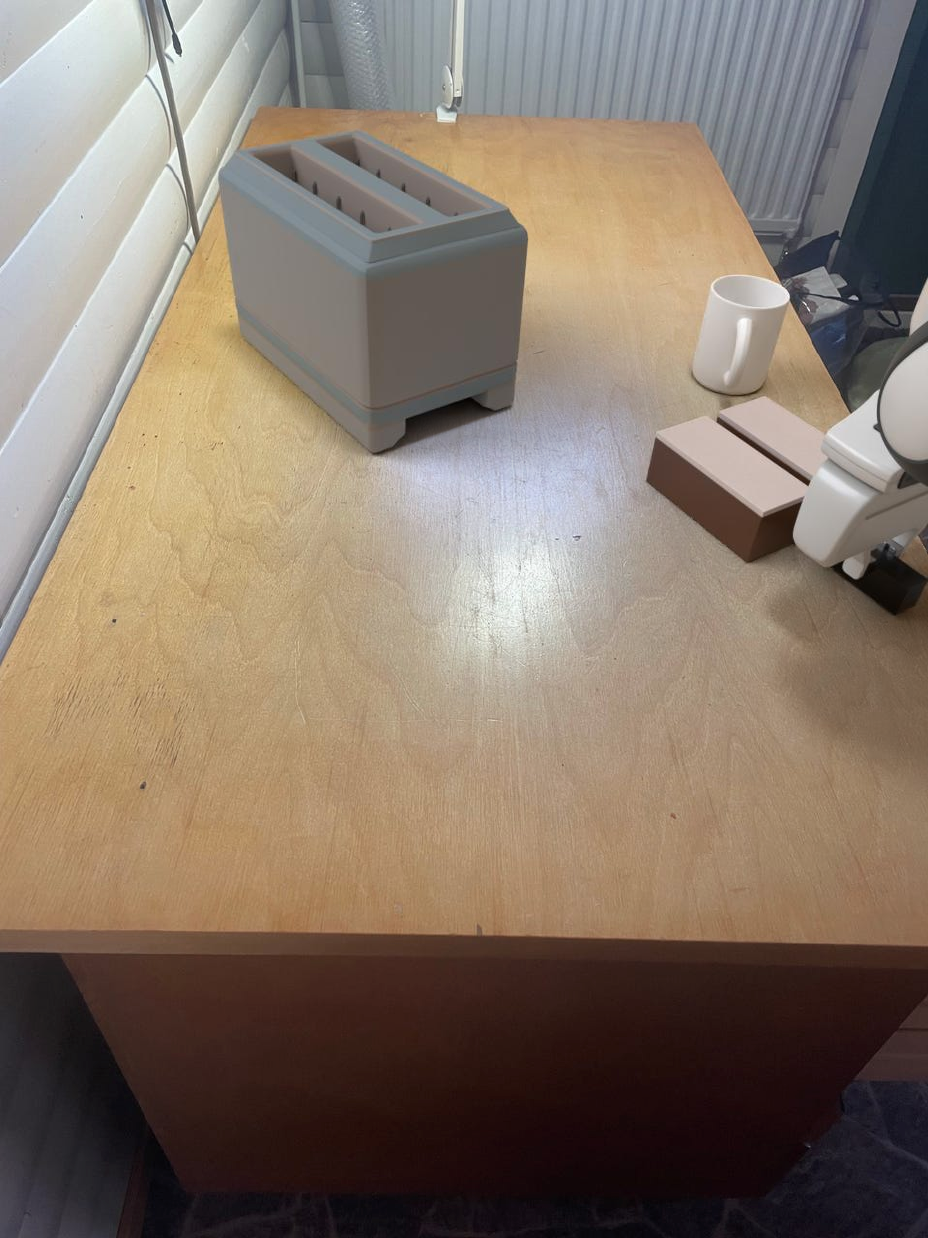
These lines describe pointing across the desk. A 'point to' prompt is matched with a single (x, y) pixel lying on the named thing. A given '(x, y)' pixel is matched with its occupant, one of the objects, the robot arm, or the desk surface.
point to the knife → (889, 581)
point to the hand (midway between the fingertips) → (870, 565)
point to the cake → (740, 473)
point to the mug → (739, 333)
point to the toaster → (373, 279)
